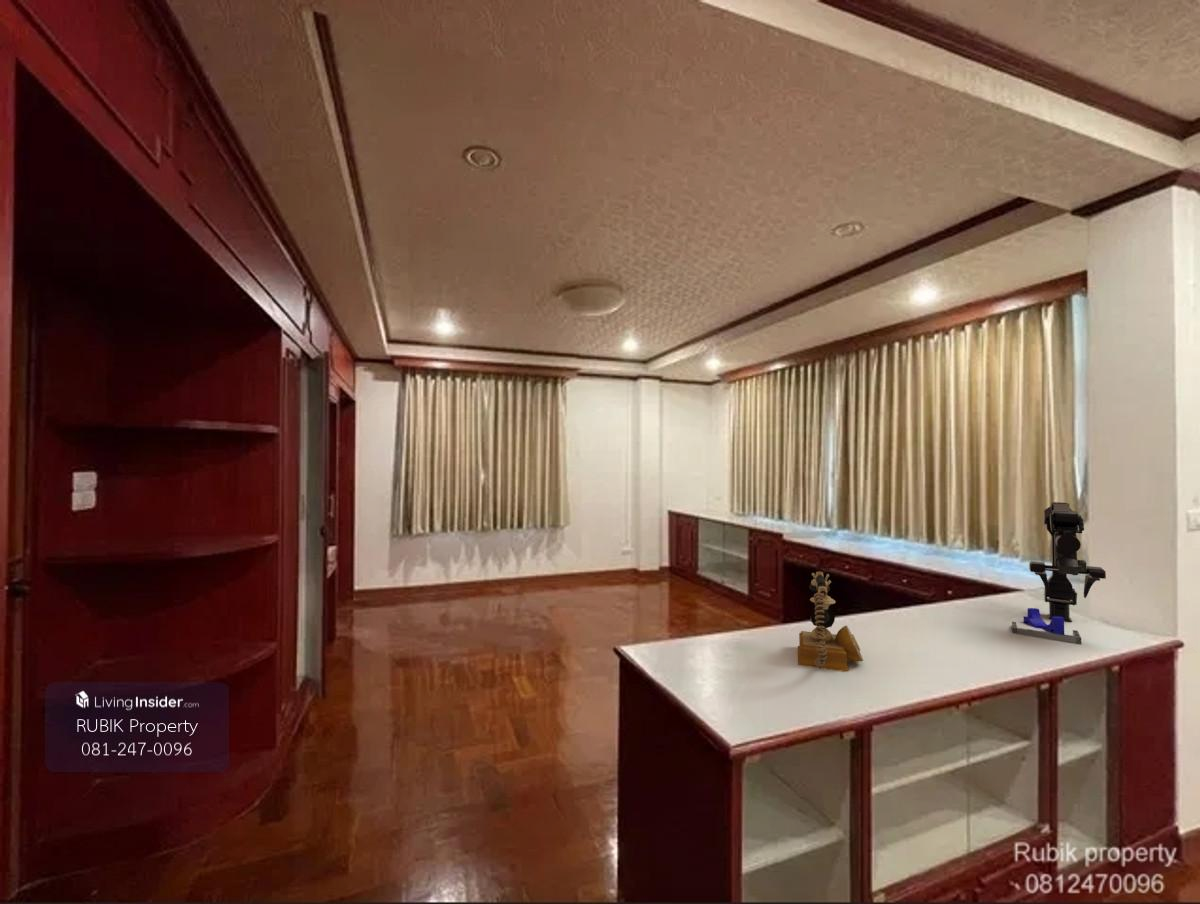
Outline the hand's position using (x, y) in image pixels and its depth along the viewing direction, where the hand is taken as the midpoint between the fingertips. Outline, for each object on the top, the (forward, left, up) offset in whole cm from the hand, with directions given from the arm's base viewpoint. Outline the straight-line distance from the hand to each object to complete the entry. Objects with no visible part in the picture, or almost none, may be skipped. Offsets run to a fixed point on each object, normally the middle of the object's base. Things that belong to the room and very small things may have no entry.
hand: (1066, 595), depth 176 cm
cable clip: (-9, -6, -15) cm, 18 cm away
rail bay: (0, -6, -14) cm, 15 cm away
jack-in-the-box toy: (+72, -58, -15) cm, 93 cm away
